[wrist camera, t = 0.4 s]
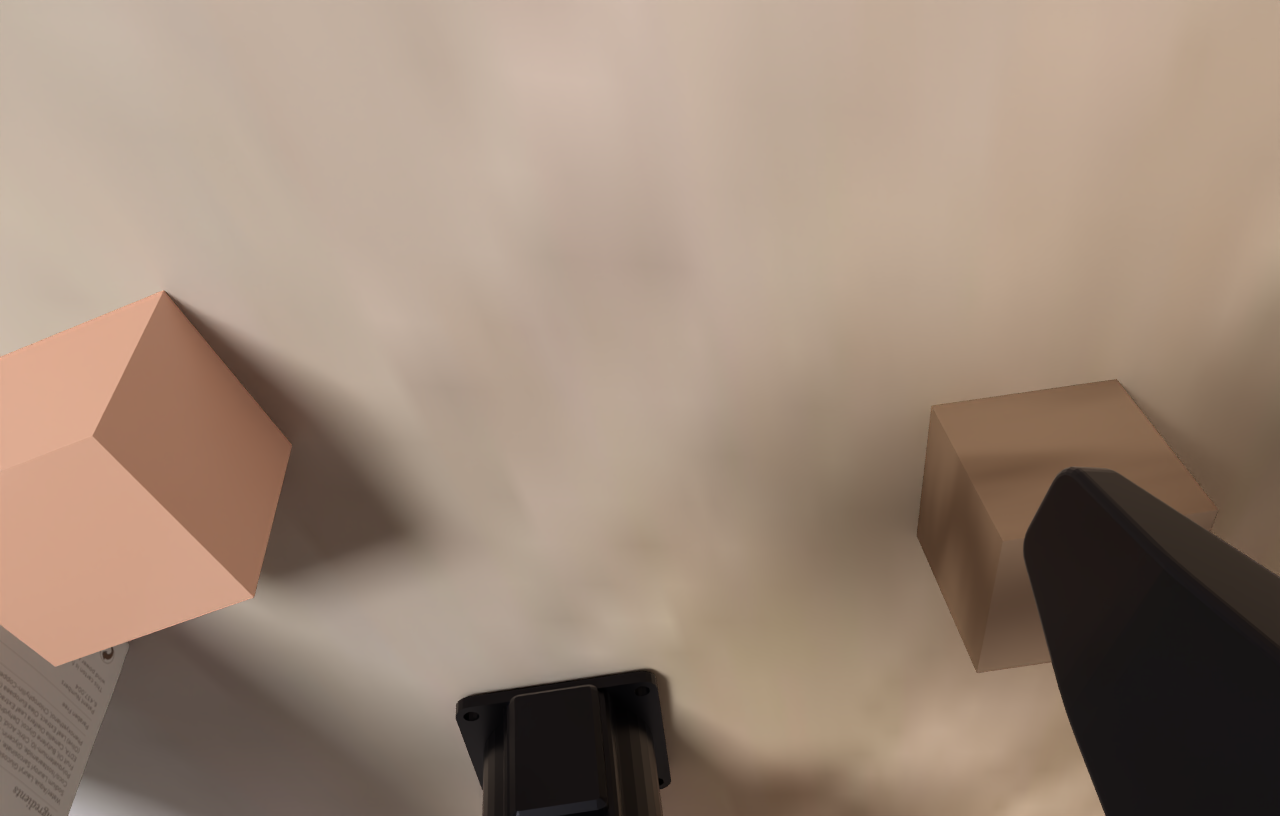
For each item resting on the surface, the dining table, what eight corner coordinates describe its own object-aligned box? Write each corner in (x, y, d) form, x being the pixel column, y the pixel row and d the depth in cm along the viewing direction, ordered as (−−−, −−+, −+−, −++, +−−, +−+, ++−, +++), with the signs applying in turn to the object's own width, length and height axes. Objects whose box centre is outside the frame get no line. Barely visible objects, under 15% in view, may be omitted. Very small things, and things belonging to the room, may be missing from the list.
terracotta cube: (292, 443, 25) (253, 597, 21) (122, 506, 26) (55, 667, 22) (165, 288, 22) (92, 436, 18) (-25, 365, 23) (-133, 522, 19)
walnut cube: (1081, 509, 30) (1166, 644, 26) (915, 533, 30) (976, 673, 26) (1115, 377, 27) (1218, 509, 23) (930, 403, 27) (1002, 541, 23)
